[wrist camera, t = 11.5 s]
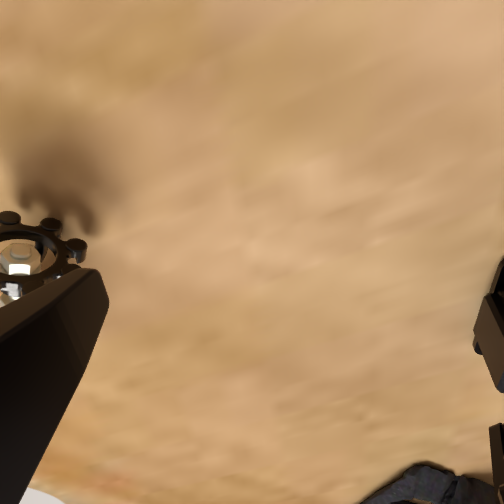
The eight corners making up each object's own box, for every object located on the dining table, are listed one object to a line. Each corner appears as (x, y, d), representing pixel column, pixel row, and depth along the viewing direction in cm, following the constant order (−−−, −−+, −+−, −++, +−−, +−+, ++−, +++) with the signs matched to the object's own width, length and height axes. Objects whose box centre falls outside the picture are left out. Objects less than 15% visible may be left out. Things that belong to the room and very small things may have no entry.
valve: (85, 359, 31) (110, 240, 24) (32, 442, 25) (46, 318, 18) (0, 327, 30) (1, 195, 23) (-73, 404, 25) (-99, 262, 18)
